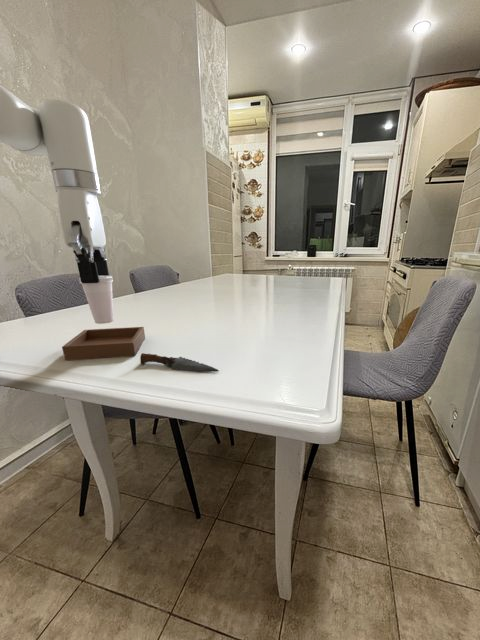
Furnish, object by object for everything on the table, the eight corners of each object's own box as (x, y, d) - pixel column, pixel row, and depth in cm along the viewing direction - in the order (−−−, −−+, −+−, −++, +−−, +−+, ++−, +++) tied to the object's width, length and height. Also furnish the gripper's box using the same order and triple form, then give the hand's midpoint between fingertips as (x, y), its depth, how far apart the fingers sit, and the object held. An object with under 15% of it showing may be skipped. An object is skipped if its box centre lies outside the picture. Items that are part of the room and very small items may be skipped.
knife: (134, 356, 57) (152, 342, 60) (137, 364, 58) (155, 350, 61) (203, 381, 50) (219, 363, 54) (205, 389, 52) (220, 372, 55)
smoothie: (89, 319, 66) (76, 255, 61) (120, 317, 68) (110, 254, 64) (86, 326, 61) (70, 256, 56) (119, 323, 63) (108, 255, 58)
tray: (65, 360, 60) (61, 346, 59) (86, 341, 71) (84, 329, 70) (135, 355, 62) (133, 342, 61) (145, 338, 74) (143, 326, 73)
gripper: (74, 191, 62) (91, 276, 69) (31, 174, 47) (58, 287, 53) (111, 192, 64) (124, 276, 70) (82, 176, 48) (103, 286, 54)
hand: (96, 280), depth 61 cm, fingers closed on smoothie, 6 cm apart
